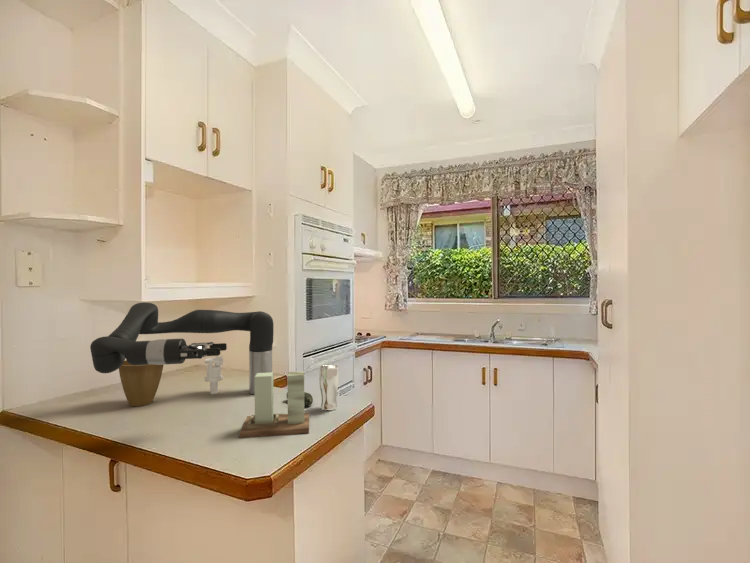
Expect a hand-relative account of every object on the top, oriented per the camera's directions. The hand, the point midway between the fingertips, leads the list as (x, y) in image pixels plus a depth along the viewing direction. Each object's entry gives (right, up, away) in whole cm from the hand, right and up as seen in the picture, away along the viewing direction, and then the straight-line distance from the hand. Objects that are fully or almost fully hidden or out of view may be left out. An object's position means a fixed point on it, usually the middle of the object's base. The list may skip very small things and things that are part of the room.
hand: (223, 349), depth 118 cm
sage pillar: (+12, -23, +2) cm, 26 cm away
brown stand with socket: (+16, -25, +2) cm, 30 cm away
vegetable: (+19, -25, +26) cm, 41 cm away
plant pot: (-41, -25, +26) cm, 55 cm away
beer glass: (+30, -25, +20) cm, 44 cm away
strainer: (-20, -25, +40) cm, 51 cm away
